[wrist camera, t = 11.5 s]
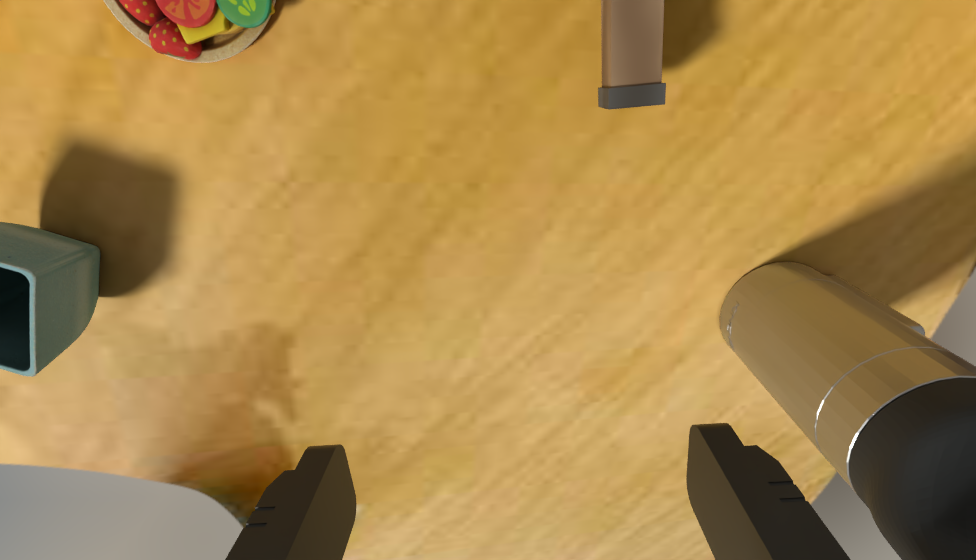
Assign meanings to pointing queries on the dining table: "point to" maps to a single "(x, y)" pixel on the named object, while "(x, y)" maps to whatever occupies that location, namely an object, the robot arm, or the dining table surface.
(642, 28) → the shaft
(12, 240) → the flower pot
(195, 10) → the toy food set
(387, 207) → the dining table surface
